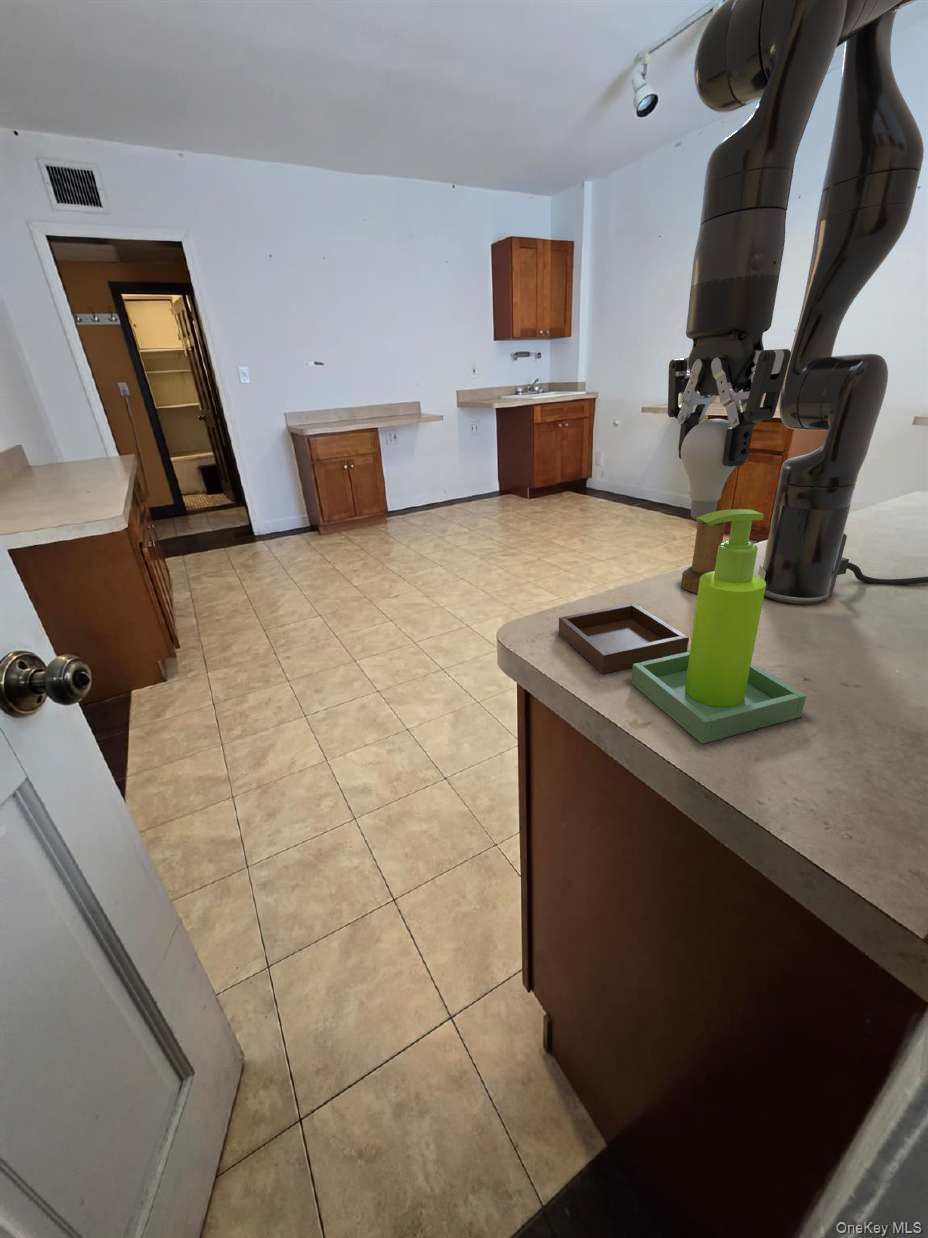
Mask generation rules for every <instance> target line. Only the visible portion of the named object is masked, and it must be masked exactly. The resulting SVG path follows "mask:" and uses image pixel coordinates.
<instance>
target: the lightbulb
mask: <svg viewBox="0 0 928 1238" xmlns="http://www.w3.org/2000/svg"><path fill="white" fill-rule="evenodd" d="M727 428H732V427H731V426H730V425H729V421H728V420H727V419H724V418H710V419H707V420H702V421H701V422H699V424H698V425H696V426H695V427H693V428H692V429H691V430H690V431H689V433H688V434H687V435H686V437H685V439H684V441H683V443H682V446H681V459H680V460H681V462H682V465H683V467H684V471H685V472H686V474H687V477H688V481H689V498H690V500H691V504H690V517H691V518H693V519H694V520H696V522H697V523H698V522H700V523H703V522H701V521H700V520H699V519H698V518H697V517H699V516H702V515H705V514H708V513H711V512H715V511H716V508H717V504H718V500H719V499H720V500H721V498H722V496H721V494H722V490H723V487H724V484H725V482H726V480H727V481H728V478H729V476H730V475H731V474H732V472H733V471H734V469H735V468H736V467H737V466H733V467H729V466H724V465H723V455H724V449H725V442H726V435H727ZM720 500H719V501H720Z"/></svg>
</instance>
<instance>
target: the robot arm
mask: <svg viewBox="0 0 928 1238" xmlns="http://www.w3.org/2000/svg"><path fill="white" fill-rule="evenodd" d="M917 1H918V0H726V1H725V2H723V4H721V5H720V6H719V7H718V9H716V10H715V12H714V13H713V15H712V16H711V18H710V19H709V21H708V22H707V24H706V25H705V28H704V30H703V32H702V34H701V37H700V39H699V42H698V45H697V49H696V53H695V58H694V67H693V78H694V79H693V80H694V86H695V89H696V92H697V93H696V94H697V95H698V97H699V99H700V100H701V102H702V103H703V104H704V106H706V108H708V109H709V110H711V111H713V112H716V113H719V114H728V113H732V112H735V111H737V110H740V109H742V108H744V107H748V106H750V105H751V104H754V103H756V102H758V101H759V102H758V104H757V106H756V108H755V110H754V112H753V114H752V115H751V116H750V117H749V119H748V120H747V121H746V122H745V123H744V124H743V125H741V127H739V128H738V129H737V130H736V131H734V132H733V133H732V134H731V135H729V136H728V137H726V138H725V139H724V140H722V141H721V142H720V143H719V144H718V145H717V146H716V147H715V148H714V150H712V152H711V154H710V156H709V158H708V161H707V163H706V170H705V176H704V184H703V197H702V206H701V213H700V214H701V215H700V224H699V225H700V226H699V231H698V236H697V241H696V245H695V251H694V255H693V262H692V270H691V280H690V289H689V298H688V309H687V317H686V318H687V319H686V327H685V328H686V329H685V336H686V337H687V338H688V339H690V340H692V342H693V343H692V346H691V347H692V348H691V350H690V353H689V355H688V357H685V358H677V359H676V358H675V359H671V360H670V361H669V363H668V380H667V381H668V384H667V387H668V388H667V416H668V417H669V418H675V419H676V420H677V423H678V424H680V430H679V438H678V439H679V440H678V448H677V450H678V458H679V460H682V459H681V446H682V443H683V441H684V439H685V437H686V435H687V434H688V433H689V431H690V430H691V429H692V428H693V427H695V426H696V425H698V424H699V423H701V422H703V419H704V418H705V417H704V416H705V415H706V412H707V410H708V409H709V406H710V405H712V404H713V403H714V402H715V401H716V399H717V397H719V401H720V404H721V406H723V407H724V408H725V410H726V416H727V419H728V420H727V421H729V425H730V426H731V427H732V428H727V435H726V442H725V449H724V455H723V465H724V466H729V467H733V466H736V467H740V466H741V467H742V466H743V465H744V464H745V463H746V461H747V459H748V457H749V454H750V448H751V443H752V437H753V431H754V427H755V426H756V425H757V424H758V423H760V422H763V421H765V420H771V419H772V418H774V416H775V415H776V410H777V407H778V405H779V407H778V408H779V416H780V420H781V423H782V424H783V426H785V427H786V428H788V429H791V430H796V431H817V432H818V431H819V432H827V433H826V436H825V439H824V441H823V443H822V444H821V446H820V447H818V448H817V449H815V450H813V451H811V452H809V453H806V454H802V455H798V456H794V457H791V458H787V459H786V460H785V461H784V462H783V463H782V465H781V468H780V472H779V477H778V482H777V488H776V493H775V494H776V495H775V499H774V505H773V509H772V514H771V521H770V526H769V531H768V536H767V541H766V548H765V551H764V552H765V553H764V558H763V563H762V565H761V564H759V566H758V571H757V572H758V576H759V577H760V578H762V579H763V580H764V581H765V582H766V588H765V593H764V597H765V598H768V599H771V600H773V601H777V602H781V603H785V604H786V603H787V604H792V605H793V604H794V605H815V604H816V605H817V604H821V603H824V602H826V601H827V600H828V599H829V597H830V596H832V595H833V594H834V590H835V585H836V582H837V578H838V576H841V575H845V574H846V573H847V570H849V571H852V573H853V574H854V576H855V578H856V579H857V580H858V581H860V582H863V583H867V584H872V585H887V586H888V585H890V586H903V585H916V584H917V585H918V584H927V583H928V576H919V577H905V578H876V577H872V576H871V577H870V576H868V575H865V574H863V572H862V570H861V568H860V567H859V566H858V565H856V564H855V563H852V562H850V559H849V558H846V557H843V554H844V551H845V547H846V542H847V539H848V535H847V534H846V533H845V529H846V526H847V521H848V516H849V513H850V509H851V504H852V500H853V497H854V493H855V487H856V485H857V480H858V477H859V473H860V471H861V469H862V467H863V464H864V462H865V460H866V458H867V455H868V452H869V448H870V444H871V441H872V437H873V434H874V430H875V429H876V428H875V427H876V425H877V422H878V418H879V416H880V412H881V409H882V406H883V403H884V399H885V396H886V393H887V387H888V382H889V368H888V364H887V362H886V361H887V360H886V359H885V358H884V357H883V356H881V355H880V354H877V353H859V354H845V355H833V351H834V347H835V344H836V340H837V338H838V337H837V336H838V333H839V330H840V329H841V325H842V323H843V321H844V318H845V316H846V314H847V312H848V310H849V309H850V307H851V306H852V304H853V302H854V301H855V299H856V298H857V297H858V295H859V294H860V293H861V291H862V290H863V289H864V287H865V286H866V284H867V283H868V282H869V281H870V279H871V278H872V277H873V275H875V273H876V272H877V270H878V269H879V268H880V266H882V264H883V263H884V261H885V260H886V258H887V257H888V256H889V255H890V253H891V252H892V251H893V249H894V247H895V246H896V244H897V243H898V241H899V240H900V238H901V236H902V235H903V233H904V231H905V229H906V227H907V225H908V222H909V220H910V216H911V213H912V209H913V204H914V202H915V201H914V200H915V196H916V192H917V187H918V184H919V179H920V175H921V171H922V166H923V161H924V153H925V149H924V148H925V147H924V141H923V138H922V137H923V136H922V134H921V131H920V128H919V126H918V124H917V122H916V119H915V117H914V115H913V113H912V111H911V109H910V108H909V106H908V104H907V102H906V100H905V98H904V97H903V94H902V92H901V90H900V88H899V85H898V83H897V81H896V77H895V74H894V71H893V66H892V51H891V47H892V33H893V27H894V24H895V23H894V22H895V19H896V14H897V12H898V11H899V10H901V9H902V8H904V7H907V6H908V5H911V4H913V3H915V2H917ZM844 43H845V44H844ZM843 44H844V52H843V53H844V54H843V64H842V73H841V81H840V82H841V83H840V88H839V94H838V95H839V96H838V103H837V108H836V109H837V110H836V114H835V121H834V127H833V131H832V132H833V133H832V137H831V143H830V148H829V149H830V150H829V155H828V159H827V165H826V169H825V174H824V180H823V185H822V189H821V194H820V200H819V205H818V210H817V218H816V223H815V229H814V236H813V243H812V251H811V256H810V263H809V269H808V274H807V280H806V285H805V289H804V296H803V299H802V300H803V301H802V305H801V309H800V314H799V317H798V322H797V326H796V330H795V335H794V338H793V341H792V345H791V349H789V348H775V349H765V348H764V343H763V336H764V334H765V333H766V332H768V331H769V330H770V329H771V327H772V323H773V317H774V311H775V304H776V299H777V293H778V288H779V282H780V281H779V280H780V273H781V268H782V264H783V263H782V261H783V258H784V257H783V256H784V252H785V251H784V250H785V243H786V223H787V222H786V221H787V213H788V212H787V211H788V208H789V207H788V206H789V201H790V196H791V195H790V194H791V189H792V188H791V187H792V183H793V175H794V169H795V163H796V157H797V154H798V152H799V151H798V150H799V147H800V144H801V143H802V142H801V141H802V138H803V136H804V133H805V131H806V128H807V126H808V123H809V119H810V116H811V114H812V111H813V108H814V106H815V103H816V100H817V97H818V95H819V93H820V91H821V88H822V86H823V82H824V80H825V78H826V75H827V72H828V70H829V68H830V65H831V63H832V60H833V57H834V55H835V52H836V49H837V48H839V47H840V46H841V45H843ZM680 394H681V395H682V396H681V399H682V404H679V400H680V399H679V398H680V397H679V395H680ZM764 395H765V396H764ZM763 398H764V399H763ZM762 401H763V402H762ZM694 407H695V408H694ZM741 408H742V411H741Z"/></svg>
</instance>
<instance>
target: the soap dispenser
mask: <svg viewBox="0 0 928 1238" xmlns="http://www.w3.org/2000/svg"><path fill="white" fill-rule="evenodd" d="M697 518H698V519H699V520H700V521H701V522H703V523H705V524H708V525H710V526H711V525H715V524H718V523H722V522H726V523H727V522H731V525H730V531H729V538H728V539H727V540H725V541H722V543H720V544H719V546H718V552H717V559H716V566H715V571H713V572H708V573H705V574H703V575H702V576H701V577H700V582H699V589H698V593H697V598H696V604H695V611H694V619H693V627H692V634H691V640H690V649H689V651H690V655H689V663H688V670H687V677H686V685H685V690H686V692H687V694H688V695H689V696H690V697H692V698H693V699H694V700H696V701H698V702H700V703H703V704H706V705H710V706H715V707H731V706H736V705H738V704H740V703H741V702H742V701H743V700H744V696H745V691H746V686H747V681H748V676H749V670H750V665H751V663H752V660H753V654H754V651H755V645H756V640H757V635H758V629H759V624H760V620H761V619H760V618H761V613H762V608H763V605H764V604H763V603H764V597H765V596H764V593H765V588H766V582H765V581H764V580H763V579H762V578H761V577H760V576H759V575H755V574H754V571H755V566H756V560H757V556H758V546H757V545H756V544H753V542H751V541H750V536H751V531H752V526H753V525H752V524H753V521H763V520H764V513H762V512H759V511H756V510H754V509H746V508H745V509H743V508H741V509H739V508H738V509H735V508H734V509H721V511H715V512H711V513H708V514H705V515H702V516H699V517H697Z"/></svg>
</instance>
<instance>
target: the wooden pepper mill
mask: <svg viewBox="0 0 928 1238" xmlns="http://www.w3.org/2000/svg"><path fill="white" fill-rule="evenodd" d="M727 489H728V479H727V480H726V482H725V484H724V487H723V490H722V494H721V497H722V496H723V495H724V493H725V492H726V490H727ZM720 501H721V498H720V499H719V500H718V504H717V508H716V511H721V510H722V507H723V506H722V505H721V504H720ZM726 523H727V522H722V523H718V524H715V525H711V526H710V525H708V524H705V523H700V522H697V524H696V532H695V533H696V534H695V542H694V549H693V556H692V561H691V566H689V567H688V568H687V569H685V570H683V572H682V575H681V581H680V584H681V585H680V586H681V588H682V589H683V590H685V591H686V592H687V591H688V592H690V593H693V594H698V589H699V582H700V577H701V576H702V575H703V574H705V573H708V572H713V571H715V566H716V559H717V552H718V546H719V544H720V543H723V542H724V541H723V540H724V536H725V535H724V534H725V530H726V525H727V524H726Z"/></svg>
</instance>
